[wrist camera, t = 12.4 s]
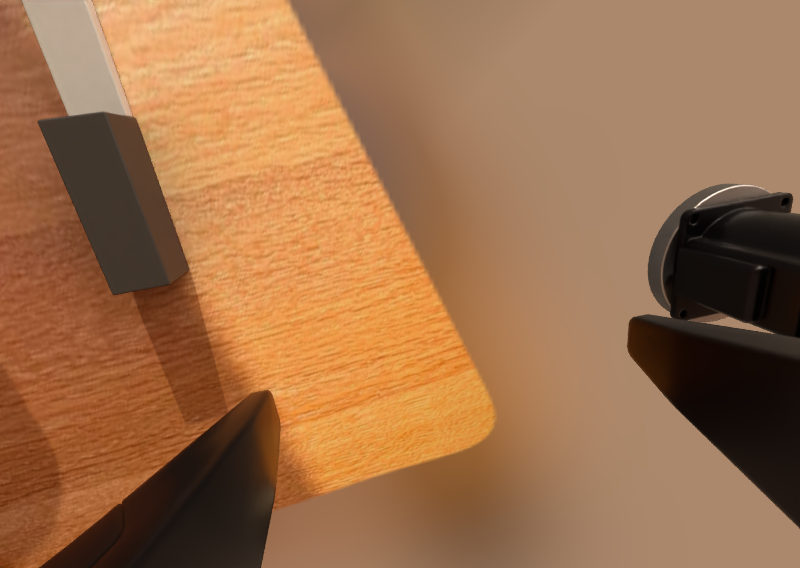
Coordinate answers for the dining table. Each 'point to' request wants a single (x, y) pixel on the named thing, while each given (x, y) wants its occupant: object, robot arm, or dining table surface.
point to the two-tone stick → (104, 152)
